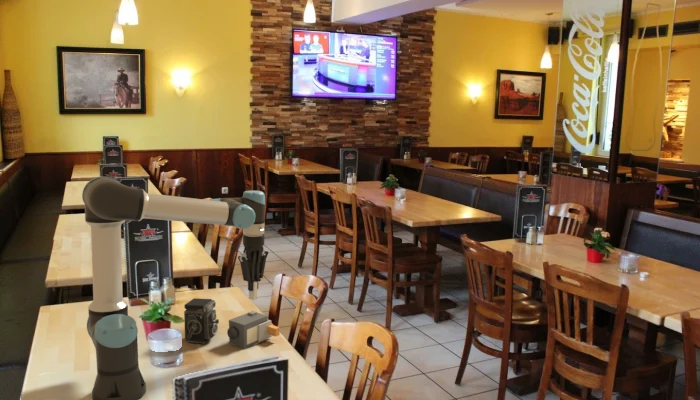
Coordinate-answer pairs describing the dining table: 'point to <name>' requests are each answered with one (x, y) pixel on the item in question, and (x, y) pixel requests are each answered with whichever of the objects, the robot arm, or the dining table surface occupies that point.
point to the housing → (245, 329)
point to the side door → (267, 330)
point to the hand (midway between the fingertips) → (253, 298)
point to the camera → (200, 320)
